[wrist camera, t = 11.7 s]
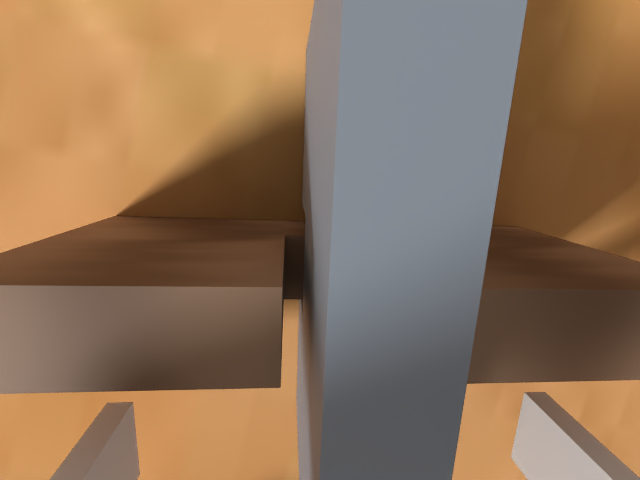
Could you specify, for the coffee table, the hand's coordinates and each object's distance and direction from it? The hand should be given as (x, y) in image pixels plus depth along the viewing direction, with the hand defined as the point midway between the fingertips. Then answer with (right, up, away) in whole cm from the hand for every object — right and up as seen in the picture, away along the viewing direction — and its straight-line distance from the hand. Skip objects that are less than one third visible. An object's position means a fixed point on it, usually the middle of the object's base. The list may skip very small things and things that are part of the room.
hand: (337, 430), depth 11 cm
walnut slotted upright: (0, +6, +4) cm, 7 cm away
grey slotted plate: (0, +6, +4) cm, 7 cm away
